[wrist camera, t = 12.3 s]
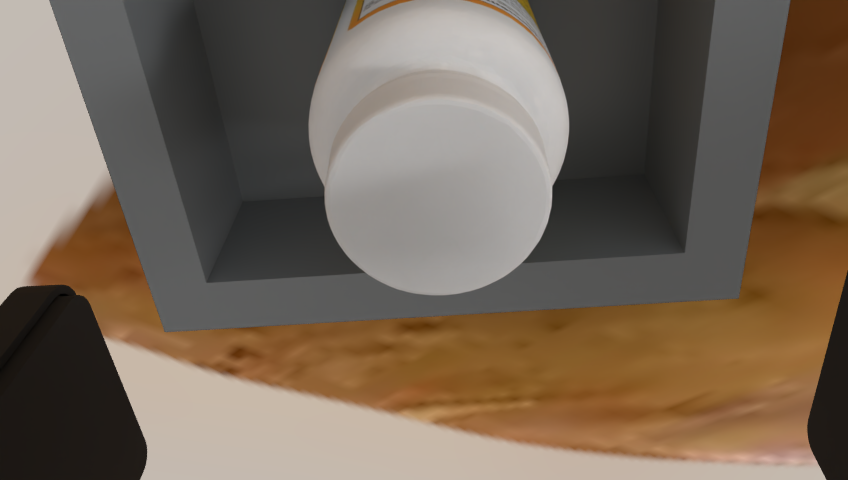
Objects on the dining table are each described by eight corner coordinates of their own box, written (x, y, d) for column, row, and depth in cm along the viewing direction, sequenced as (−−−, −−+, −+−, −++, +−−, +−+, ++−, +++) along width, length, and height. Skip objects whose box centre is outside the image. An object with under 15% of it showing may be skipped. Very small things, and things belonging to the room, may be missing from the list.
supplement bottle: (449, 156, 23) (458, 371, 15) (304, 50, 21) (223, 227, 13) (572, 20, 21) (663, 186, 13) (421, -112, 19) (411, -19, 11)
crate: (735, -270, 18) (839, -283, 13) (682, 199, 25) (738, 298, 20) (93, -204, 19) (-19, -195, 14) (213, 230, 26) (165, 332, 21)
